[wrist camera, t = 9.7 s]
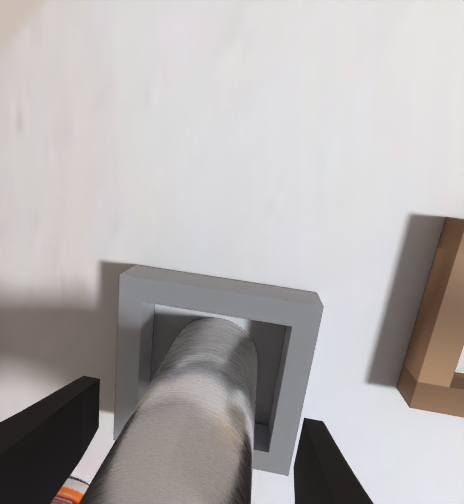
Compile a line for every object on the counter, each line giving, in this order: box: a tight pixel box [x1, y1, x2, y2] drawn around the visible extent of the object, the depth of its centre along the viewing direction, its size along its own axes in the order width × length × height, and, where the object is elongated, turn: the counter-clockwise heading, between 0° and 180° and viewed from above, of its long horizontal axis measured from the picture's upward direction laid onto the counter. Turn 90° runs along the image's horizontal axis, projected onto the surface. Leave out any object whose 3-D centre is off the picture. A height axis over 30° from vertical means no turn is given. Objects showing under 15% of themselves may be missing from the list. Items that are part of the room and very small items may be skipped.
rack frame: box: [113, 265, 324, 476], centre depth 13 cm, size 8×8×2 cm
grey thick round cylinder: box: [79, 318, 258, 504], centre depth 10 cm, size 4×4×8 cm
